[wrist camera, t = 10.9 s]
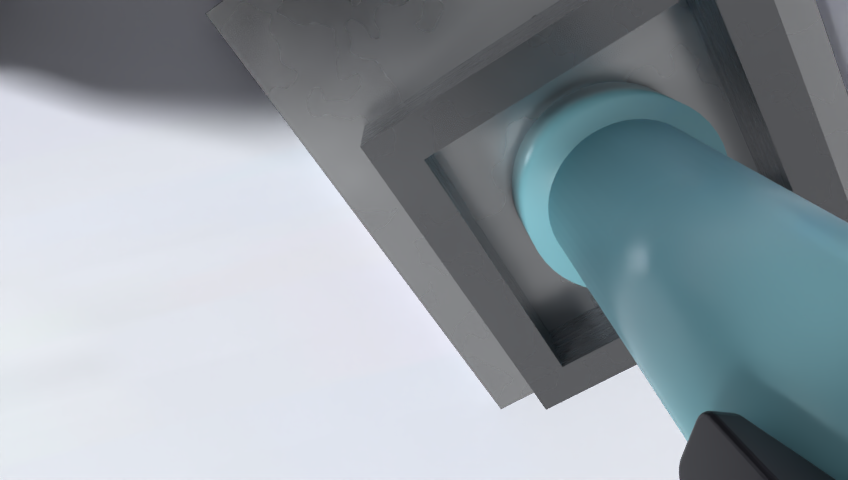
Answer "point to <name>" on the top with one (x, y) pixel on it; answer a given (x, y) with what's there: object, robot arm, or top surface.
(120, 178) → the top surface
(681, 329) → the knob
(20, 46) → the top surface
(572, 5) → the plate
